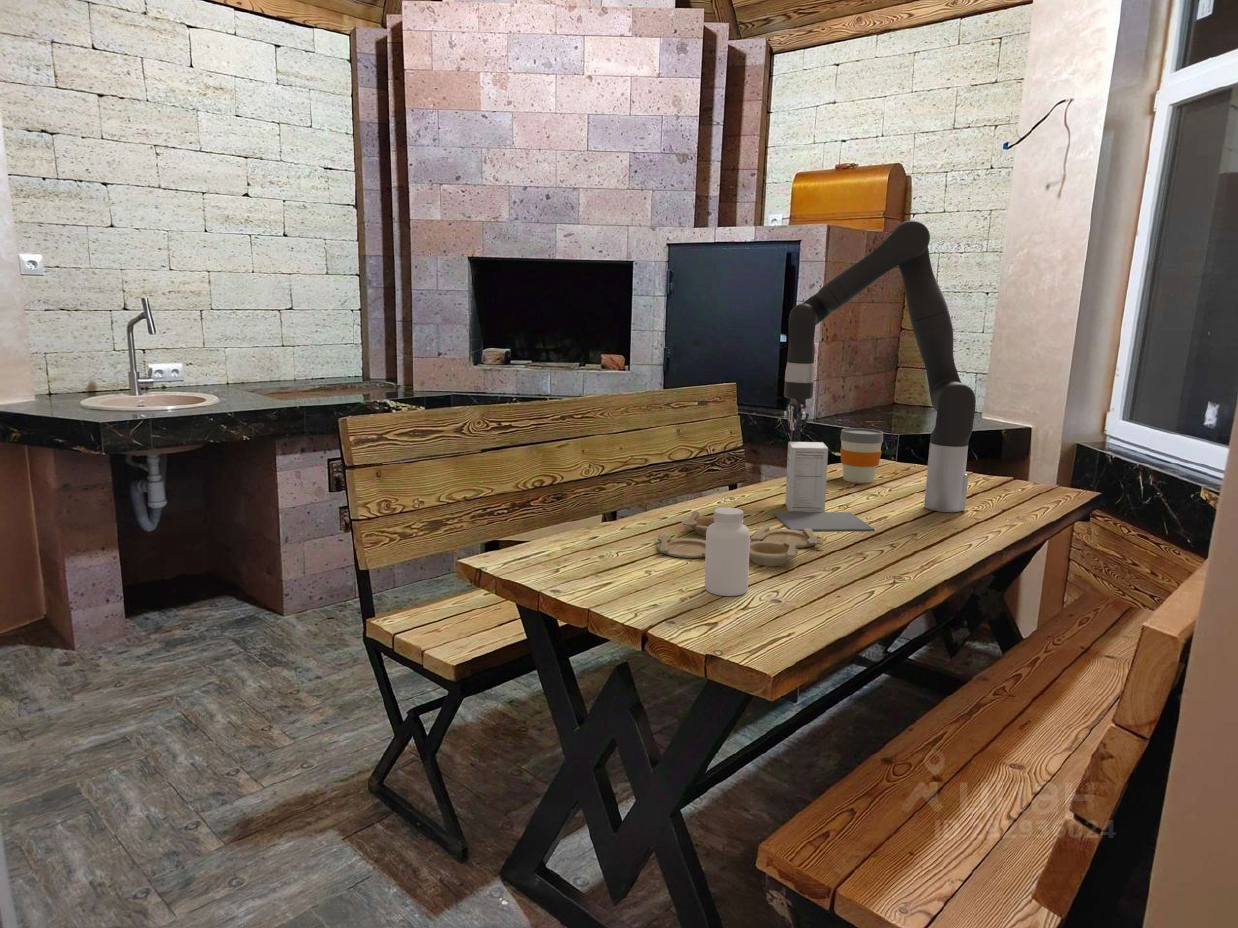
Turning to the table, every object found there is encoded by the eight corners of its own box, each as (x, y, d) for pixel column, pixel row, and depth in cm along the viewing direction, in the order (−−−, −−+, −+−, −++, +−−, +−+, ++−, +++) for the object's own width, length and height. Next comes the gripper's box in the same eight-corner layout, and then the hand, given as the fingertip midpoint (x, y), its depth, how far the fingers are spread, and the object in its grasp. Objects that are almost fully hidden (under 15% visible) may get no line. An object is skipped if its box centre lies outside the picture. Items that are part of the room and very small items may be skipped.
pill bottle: (700, 582, 154) (703, 505, 151) (742, 582, 154) (746, 505, 151) (708, 597, 146) (711, 516, 143) (752, 597, 146) (756, 516, 144)
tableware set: (827, 538, 186) (828, 521, 186) (813, 577, 159) (814, 557, 158) (678, 522, 197) (679, 506, 197) (642, 556, 170) (642, 538, 169)
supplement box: (820, 504, 217) (824, 442, 213) (825, 513, 208) (830, 448, 204) (783, 503, 218) (787, 440, 214) (787, 511, 209) (791, 446, 205)
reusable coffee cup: (853, 473, 258) (856, 426, 255) (888, 480, 249) (892, 432, 246) (828, 478, 250) (832, 430, 247) (864, 485, 241) (868, 435, 238)
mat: (849, 513, 208) (849, 512, 208) (874, 530, 192) (874, 529, 192) (772, 513, 206) (772, 512, 206) (791, 531, 190) (791, 529, 190)
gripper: (821, 382, 211) (816, 448, 214) (805, 378, 224) (800, 440, 227) (792, 382, 210) (788, 448, 214) (778, 377, 223) (774, 440, 227)
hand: (794, 444), depth 220 cm, fingers closed
